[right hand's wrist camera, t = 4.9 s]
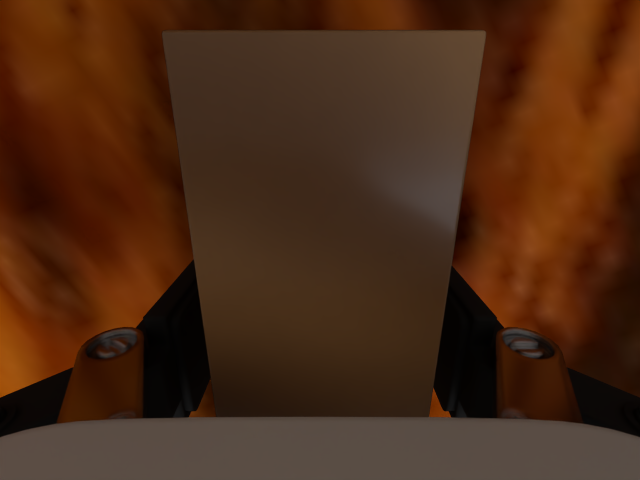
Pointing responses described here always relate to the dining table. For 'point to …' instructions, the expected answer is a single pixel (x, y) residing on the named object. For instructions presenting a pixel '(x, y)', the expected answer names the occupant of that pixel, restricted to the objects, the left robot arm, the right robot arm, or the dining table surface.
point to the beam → (323, 209)
